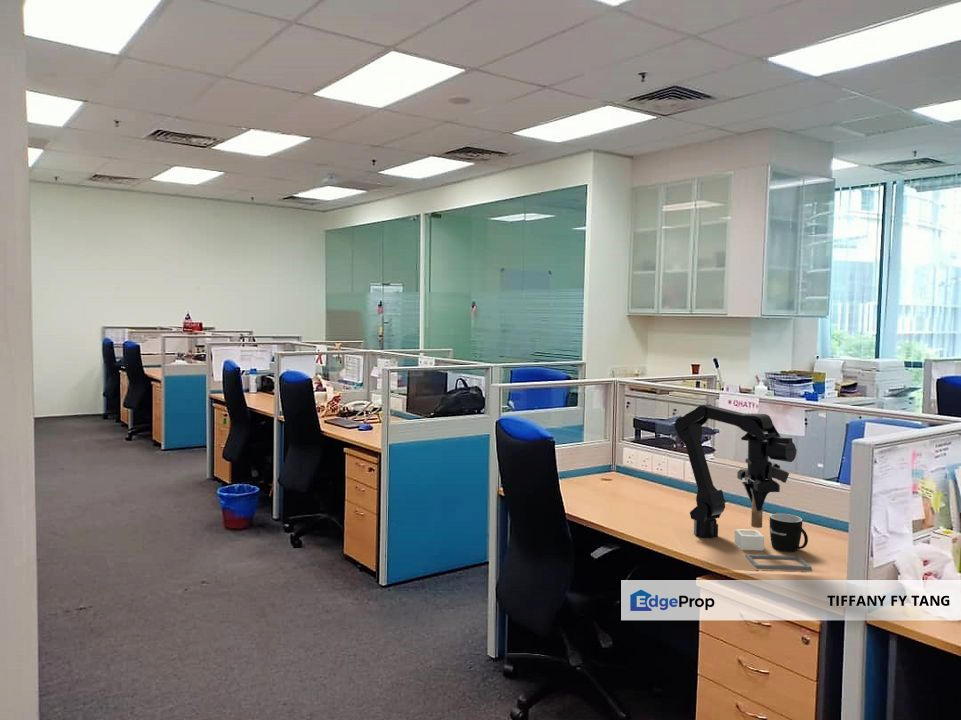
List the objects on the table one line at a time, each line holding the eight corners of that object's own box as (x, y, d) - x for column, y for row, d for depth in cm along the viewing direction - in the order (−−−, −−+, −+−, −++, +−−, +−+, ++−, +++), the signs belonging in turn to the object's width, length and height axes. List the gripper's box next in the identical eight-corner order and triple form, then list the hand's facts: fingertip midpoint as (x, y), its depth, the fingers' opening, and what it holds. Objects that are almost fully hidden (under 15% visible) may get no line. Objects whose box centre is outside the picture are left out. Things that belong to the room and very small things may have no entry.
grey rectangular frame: (755, 570, 191) (755, 565, 191) (745, 559, 200) (745, 554, 200) (811, 572, 190) (811, 567, 190) (798, 561, 199) (798, 556, 199)
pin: (753, 527, 204) (753, 497, 203) (749, 524, 207) (750, 495, 206) (763, 527, 204) (764, 497, 203) (760, 525, 207) (760, 495, 206)
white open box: (741, 552, 206) (741, 535, 206) (734, 545, 213) (734, 529, 212) (763, 553, 206) (764, 536, 206) (756, 545, 212) (756, 529, 212)
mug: (762, 548, 210) (763, 515, 209) (782, 544, 214) (783, 512, 214) (796, 560, 199) (797, 526, 199) (816, 556, 203) (818, 522, 203)
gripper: (799, 463, 194) (797, 518, 195) (773, 451, 213) (772, 501, 214) (758, 462, 195) (757, 517, 196) (737, 451, 214) (736, 501, 214)
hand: (757, 509), depth 205 cm, fingers closed on pin, 3 cm apart
